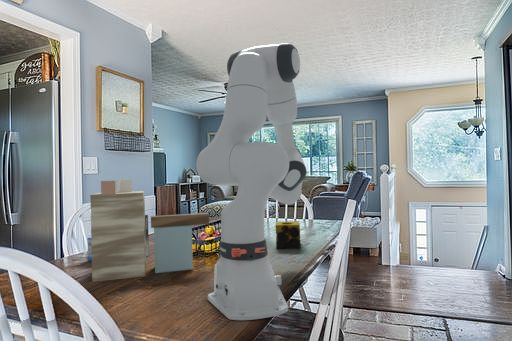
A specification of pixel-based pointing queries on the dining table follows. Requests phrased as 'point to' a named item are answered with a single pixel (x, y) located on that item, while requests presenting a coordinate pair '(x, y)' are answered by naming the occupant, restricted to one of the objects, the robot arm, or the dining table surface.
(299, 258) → the dining table surface
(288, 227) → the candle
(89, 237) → the medicine box
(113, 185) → the terracotta block
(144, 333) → the dining table surface
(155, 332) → the dining table surface
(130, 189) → the cream block
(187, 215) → the rail
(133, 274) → the grey wood block
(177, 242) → the step
